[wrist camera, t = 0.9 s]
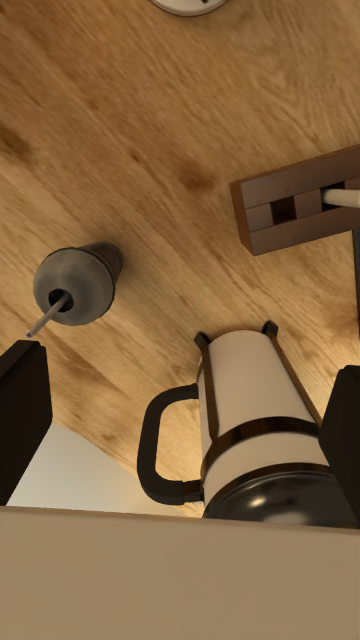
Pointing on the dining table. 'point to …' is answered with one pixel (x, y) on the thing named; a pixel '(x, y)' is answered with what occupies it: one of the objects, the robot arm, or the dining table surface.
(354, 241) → the tablet
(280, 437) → the coffee press
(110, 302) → the beverage cup
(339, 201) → the rod
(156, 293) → the dining table surface
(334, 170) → the pen block
